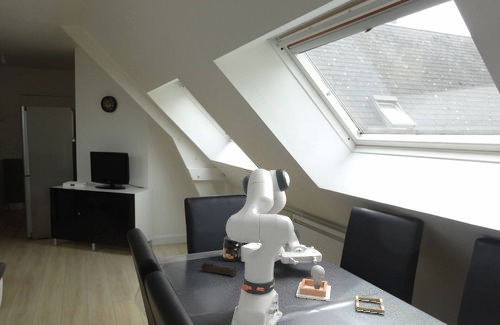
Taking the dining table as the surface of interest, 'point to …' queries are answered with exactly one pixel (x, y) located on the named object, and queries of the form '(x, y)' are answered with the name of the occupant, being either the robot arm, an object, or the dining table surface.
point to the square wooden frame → (368, 307)
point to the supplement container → (231, 250)
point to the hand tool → (218, 269)
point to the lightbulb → (317, 275)
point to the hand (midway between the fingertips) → (305, 262)
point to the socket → (313, 290)
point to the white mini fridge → (254, 246)
